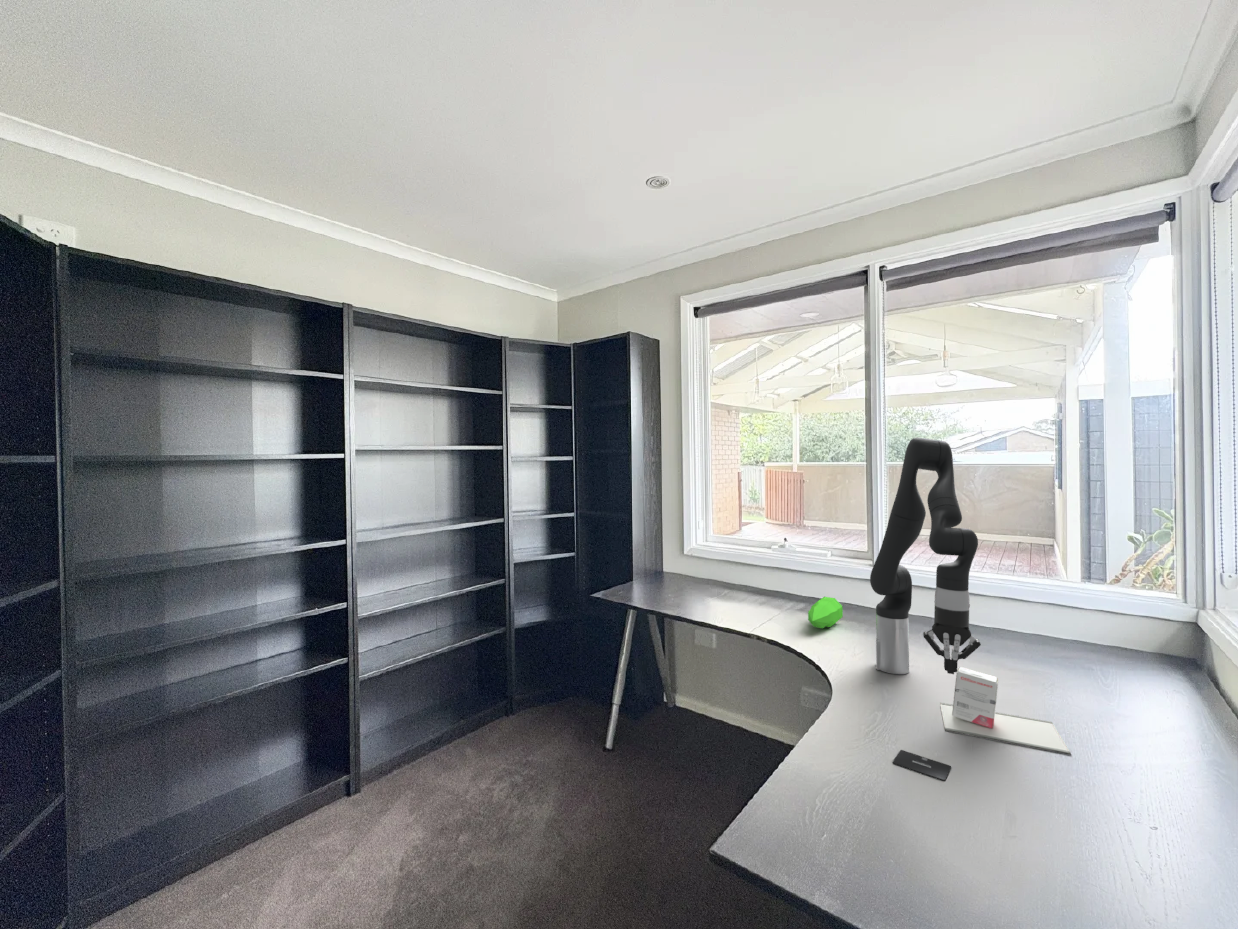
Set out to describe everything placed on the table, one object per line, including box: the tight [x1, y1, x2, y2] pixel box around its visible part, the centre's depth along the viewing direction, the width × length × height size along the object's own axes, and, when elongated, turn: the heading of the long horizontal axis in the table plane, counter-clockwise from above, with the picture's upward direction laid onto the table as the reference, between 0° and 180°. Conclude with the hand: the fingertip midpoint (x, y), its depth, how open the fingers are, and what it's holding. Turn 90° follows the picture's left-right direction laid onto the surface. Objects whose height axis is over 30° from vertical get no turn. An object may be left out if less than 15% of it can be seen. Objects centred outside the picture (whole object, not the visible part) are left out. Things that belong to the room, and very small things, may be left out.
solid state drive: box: [892, 749, 952, 782], centre depth 114 cm, size 7×10×1 cm
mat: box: [939, 702, 1072, 756], centre depth 130 cm, size 24×16×1 cm, turn 62°
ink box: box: [952, 666, 999, 729], centre depth 132 cm, size 9×5×12 cm, turn 52°
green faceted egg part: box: [807, 596, 844, 629], centre depth 211 cm, size 11×12×30 cm
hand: (950, 672), depth 134 cm, fingers closed
